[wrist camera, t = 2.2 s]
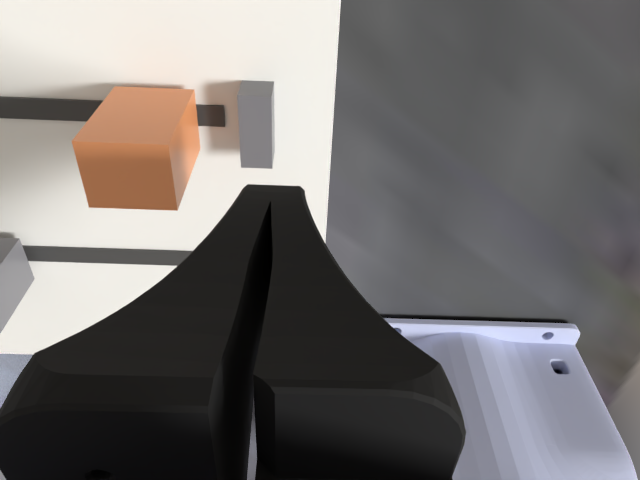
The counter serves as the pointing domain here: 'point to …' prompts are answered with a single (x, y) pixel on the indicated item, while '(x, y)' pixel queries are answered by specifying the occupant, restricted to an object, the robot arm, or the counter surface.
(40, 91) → the panel
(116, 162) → the fader orange
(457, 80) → the counter surface
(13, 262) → the grey rectangular box
